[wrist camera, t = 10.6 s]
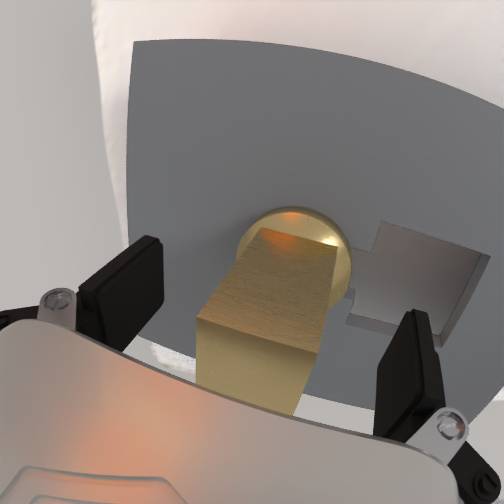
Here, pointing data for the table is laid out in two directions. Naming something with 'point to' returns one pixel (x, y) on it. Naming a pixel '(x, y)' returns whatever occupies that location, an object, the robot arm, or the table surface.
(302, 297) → the brass peg
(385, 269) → the table surface
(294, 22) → the table surface
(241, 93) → the keyhole board
